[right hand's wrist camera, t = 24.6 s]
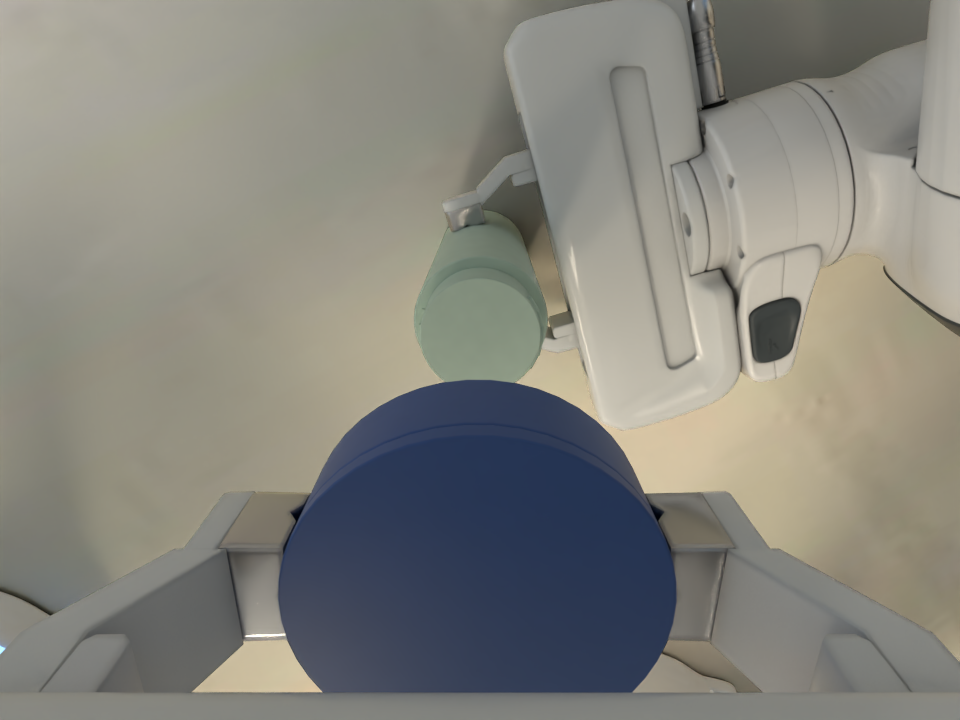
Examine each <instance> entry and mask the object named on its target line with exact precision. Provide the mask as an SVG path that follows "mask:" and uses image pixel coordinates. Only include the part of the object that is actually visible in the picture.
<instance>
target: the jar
mask: <svg viewBox="0 0 960 720" xmlns="http://www.w3.org/2000/svg"><path fill="white" fill-rule="evenodd" d="M483 212H484V215H485V223H482V224H478V225H474V226H470V225H466V226H465V228H463V229H461V230H459V231H455V232H451V231H450V228H448V229H447V231H446V233H445V235H444V237H443V239H442V242H441V244H440V247H439V249H438V251H437V254H436V256H435V259H434V261H433V263H432V266H431V268H430V270H429V273H428V275H427V278H426V280H425V282H424V285H423V287H422V290H421V292H420V294H419V297H418V299H417V303H416V306H415V313H414V327H415V333H416V337H417V340H418V343H419V345H420V347H421V349H422V352H423V355H424V357H425V359H426V361H427V363H428V365H429V366H430V368H431V369H432V370H433V371H434V373H435V374H436V375H438V376H439V377H440V378H441V379H442V380H444V381H445V382H452V381H460V380H496V381H503V382H511V383H515V382H516V381H518V380H519V379H520V378H521V377H523V376H524V375H525V374H526V372H527V371H528V370H529V369H531V368H532V367H533V365H534V363H535V361H536V359H537V358H538V356H539V355H540V352H541V348H542V345H543V342H544V339H545V336H546V331H547V323H548V317H547V308H546V304H545V301H544V298H543V295H542V292H541V289H540V286H539V284H538V281H537V278H536V275H535V272H534V269H533V267H532V264H531V261H530V258H529V255H528V253H527V250H526V247H525V244H524V241H523V238H522V236H521V234H520V232H519V230H518V229H517V227H516V226H515V225H514V224H513V222H512V221H510V220H509V219H508V218H506V217H505V216H503V215H501V214H499V213H497V212H493V211H488V210H483Z"/></svg>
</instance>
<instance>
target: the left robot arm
mask: <svg viewBox="0 0 960 720" xmlns="http://www.w3.org/2000/svg"><path fill="white" fill-rule="evenodd" d="M713 27H715V17H714V10H713V6H712V3H711V0H690V1H688V2H687V1H686V0H608V1H607V2H600V3H594V4H588V5H583V6H578V7H573V8H568V9H564V10H560V11H556V12H552V13H548V14H545V15H541V16H537V17H534V18H531V19H528V20H525V21H523V22H522V23H520V24H519V25H518V26H517V27H516V28H515V29H514V31H513V32H512V34H511V36H510V37H509V39H508V41H507V43H506V46H505V49H504V54H503V57H504V62H505V66H506V70H507V74H508V78H509V82H510V86H511V90H512V94H513V98H514V102H515V106H516V110H517V113H518V117H519V121H520V125H521V129H522V133H523V137H524V141H525V145H526V150H523V151H520V152H517V153H514V154H511V155H507V156H504V157H503V158H502V159H501V160H500V161H499V163H498V164H497V165H496V166H495V167H494V168H493V169H492V170H491V171H490V173H489V174H488V175H487V176H486V177H485V178H484V179H483V180H482V181H481V182H480V184H479V185H478V186H477V189H476V190H473V191H470V192H466V193H463V194H460V195H457V196H454V197H451V198H448V199H446V200H443V201H442V206H443V209H444V213H445V216H446V219H447V222H448V225H449V228H450V231H451V232H455V231H459V230H461V229H463V228H465V226H466V225H470V226H474V225H478V224H482V223H485V215H484V212H483V208H482V205H483V204H484V203H485V202H486V200H487V199H488V198H489V197H490V196H491V195H492V194H493V193H494V192H495V191H496V190H497V189H498V188H499V186H500V185H501V184H502V183H503V182H504V181H505V180H506V179H507V178H508V177H509V176H510V179H511V182H512V184H513V185H514V186H516V187H518V186H521V185H525V184H528V183H531V182H535V184H536V188H537V192H538V196H539V200H540V203H541V207H542V211H543V215H544V219H545V223H546V227H547V231H548V235H549V239H550V243H551V246H552V250H553V254H554V258H555V262H556V266H557V270H558V274H559V278H560V282H561V286H562V289H563V293H564V297H565V301H566V305H567V309H568V311H566V312H563V313H560V314H556V315H553V316H550V317H549V318H548V319H549V324H550V327H547V331H546V336H545V339H544V342H543V345H542V348H541V349H543V350H547V351H551V352H555V353H561V352H564V351H568V350H572V349H575V348H578V352H579V356H580V360H581V364H582V368H583V372H584V375H585V379H586V383H587V387H588V391H589V395H590V399H591V402H592V405H593V407H594V410H595V412H596V415H597V417H598V419H599V421H600V422H601V423H602V424H604V425H607V426H609V427H612V428H615V429H619V430H632V429H636V428H641V427H645V426H648V425H652V424H655V423H659V422H662V421H665V420H669V419H672V418H675V417H678V416H681V415H684V414H687V413H689V412H692V411H695V410H697V409H700V408H703V407H705V406H707V405H710V404H712V403H714V402H716V401H717V400H719V399H721V398H722V397H723V396H725V395H726V394H727V393H728V392H729V391H730V390H731V389H732V388H733V387H734V385H735V384H736V382H737V380H738V378H739V375H740V372H742V373H743V374H744V375H746V376H747V377H749V378H750V379H752V380H754V381H757V382H766V381H771V380H775V379H778V378H781V377H783V376H785V375H786V374H788V373H789V372H790V370H791V368H792V366H793V364H794V361H795V357H796V353H797V349H798V344H799V340H800V335H801V331H802V327H803V323H804V319H805V315H806V311H807V307H808V304H809V300H810V297H811V294H812V290H813V287H814V284H815V282H816V279H817V276H818V273H819V270H820V269H821V268H824V267H827V266H830V265H832V264H834V263H836V262H838V261H840V260H842V259H844V258H847V257H849V256H853V255H861V254H863V255H870V256H874V257H877V258H878V259H880V260H881V261H882V262H883V264H884V267H883V269H884V272H885V274H886V275H887V277H888V278H889V279H890V280H891V281H892V282H893V283H894V284H895V285H896V286H897V287H898V288H899V289H900V290H901V291H903V292H904V293H905V294H906V295H907V296H908V297H909V298H910V299H911V300H913V301H914V302H915V303H916V304H917V305H919V306H920V307H921V308H922V309H924V310H925V311H926V312H927V313H928V314H930V315H931V316H932V317H933V318H935V319H936V320H937V321H939V322H940V323H941V324H943V325H944V326H945V327H947V328H948V329H950V330H951V331H952V332H954V333H955V334H957V335H958V336H960V0H930V11H929V22H928V33H927V39H926V40H923V41H919V42H916V43H912V44H909V45H906V46H903V47H899V48H896V49H893V50H890V51H887V52H884V53H882V54H880V55H878V56H876V57H874V58H872V59H870V60H868V61H867V62H865V63H864V64H862V65H861V66H859V67H857V68H856V69H854V70H852V71H850V72H848V73H846V74H843V75H840V76H837V77H831V78H808V79H800V80H795V81H791V82H788V83H785V84H782V85H779V86H775V87H772V88H769V89H766V90H763V91H759V92H756V93H753V94H750V95H747V96H743V97H740V98H737V99H733V100H730V101H728V100H727V101H726V97H725V88H724V82H723V75H722V68H721V63H720V59H719V58H718V57H719V55H718V52H717V47H716V46H715V44H716V42H715V39H714V38H715V35H714V28H713ZM702 106H703V108H702ZM699 108H702V110H699V111H697V109H699ZM632 693H737V692H736V689H735V687H734V686H733V685H732V684H731V683H729V682H726V681H723V680H720V679H716V678H711V677H707V676H703V675H700V674H698V673H697V672H695V671H693V670H692V669H691V668H689V667H688V666H686V665H685V664H683V663H682V662H680V661H678V660H676V659H674V658H672V657H669V656H667V655H664V654H661V655H660V657H659V659H658V661H657V662H656V664H655V665H654V667H653V668H652V670H651V671H650V672H649V674H648V675H647V677H646V678H645V679H644V680H643V681H642V682H641V683H640V685H639V686H638V687H637V688H636V689H635V690H634V691H633V692H632Z"/></svg>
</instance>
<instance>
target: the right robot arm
mask: <svg viewBox="0 0 960 720" xmlns="http://www.w3.org/2000/svg"><path fill="white" fill-rule="evenodd" d="M310 494H311V493H296V492H254V491H249V492H228V493H225V494H223V495H222V497H221V498H220V500H219V501H218V502H217V504H216V505H215V506H214V508H213V509H212V510H211V512H210V513H209V515H208V516H207V517H206V519H205V520H204V521H203V523H202V524H201V526H200V527H199V528H198V530H197V531H196V532H195V534H194V535H193V536H192V538H191V539H190V541H189V542H188V543H187V545H186V546H185V547H184V549H173V550H172V551H170V552H168V553H166V554H164V555H162V556H160V557H159V558H157V559H155V560H153V561H151V562H149V563H147V564H146V565H144V566H142V567H140V568H138V569H136V570H134V571H133V572H131V573H129V574H127V575H125V576H123V577H121V578H120V579H118V580H116V581H114V582H112V583H110V584H108V585H107V586H105V587H103V588H101V589H99V590H97V591H96V592H94V593H92V594H90V595H88V596H86V597H84V598H83V599H81V600H79V601H77V602H75V603H73V604H71V605H70V606H68V607H66V608H64V609H62V610H60V611H58V612H57V613H55V614H53V615H51V616H50V615H48V614H47V613H45V612H43V611H42V610H40V609H38V608H37V607H35V606H33V605H32V604H30V603H28V602H26V601H24V600H22V599H19V598H17V597H15V596H12V595H9V594H7V593H4V592H0V720H960V662H959V661H958V660H957V659H956V658H955V657H954V656H953V655H952V654H951V652H950V651H949V650H948V649H947V648H946V647H945V646H944V645H943V644H942V643H941V642H940V640H939V639H938V638H937V637H936V636H935V635H934V634H933V633H932V632H930V631H929V630H927V629H925V628H923V627H921V626H919V625H918V624H916V623H914V622H912V621H910V620H908V619H907V618H905V617H903V616H901V615H899V614H897V613H896V612H894V611H892V610H890V609H888V608H886V607H885V606H883V605H881V604H879V603H877V602H875V601H874V600H872V599H870V598H868V597H866V596H864V595H863V594H861V593H859V592H857V591H855V590H853V589H852V588H850V587H848V586H846V585H844V584H843V583H841V582H839V581H837V580H835V579H833V578H832V577H830V576H828V575H826V574H824V573H822V572H821V571H819V570H817V569H815V568H813V567H811V566H810V565H808V564H806V563H804V562H802V561H800V560H799V559H797V558H795V557H793V556H791V555H789V554H788V553H786V552H784V551H782V550H780V549H770V548H769V546H768V545H767V544H766V542H765V541H764V540H763V538H762V537H761V535H760V534H759V533H758V531H757V530H756V528H755V527H754V526H753V524H752V523H751V522H750V520H749V519H748V517H747V516H746V515H745V513H744V512H743V510H742V509H741V508H740V506H739V505H738V504H737V502H736V501H735V499H734V498H733V497H732V495H731V494H730V493H728V492H726V491H715V492H697V493H650V494H645V496H646V498H647V500H648V502H649V505H650V507H651V509H652V511H653V513H654V516H655V518H656V520H657V522H658V524H659V527H660V529H661V531H662V533H663V535H664V537H665V539H666V542H667V545H668V548H669V551H670V553H671V556H672V559H673V564H674V570H675V575H676V581H677V603H676V609H675V615H674V621H673V625H672V629H671V632H670V635H669V638H668V640H684V641H711V645H712V646H714V647H715V648H716V649H717V650H718V651H719V652H720V653H721V654H722V655H723V656H724V657H725V658H726V659H727V660H729V661H730V662H731V663H732V664H733V665H734V666H735V667H736V668H737V669H738V670H739V671H740V672H741V673H743V674H744V675H745V676H746V677H747V678H748V679H749V680H750V681H751V682H752V683H753V684H754V685H755V686H756V687H758V688H759V689H760V690H761V691H762V692H763V693H417V692H280V693H191V692H192V691H193V690H194V689H195V688H196V687H197V686H198V685H200V684H201V683H202V682H203V681H204V680H205V679H206V678H207V677H208V676H209V675H210V674H212V673H213V672H214V671H215V670H216V669H217V668H218V667H219V666H220V665H221V664H222V663H223V662H225V661H226V660H227V659H228V658H229V657H230V656H231V655H232V654H233V653H234V652H235V651H237V650H238V649H239V648H240V647H241V646H242V645H243V641H270V640H287V637H286V634H285V631H284V628H283V625H282V622H281V616H280V609H279V602H278V580H279V573H280V568H281V563H282V558H283V555H284V552H285V549H286V547H287V544H288V541H289V539H290V536H291V534H292V532H293V530H294V528H295V526H296V524H297V522H298V519H299V517H300V515H301V513H302V511H303V509H304V507H305V505H306V503H307V501H308V499H309V496H310Z"/></svg>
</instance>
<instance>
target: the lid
mask: <svg viewBox="0 0 960 720" xmlns="http://www.w3.org/2000/svg"><path fill="white" fill-rule="evenodd" d="M278 602H279V609H280V616H281V622H282V625H283V628H284V631H285V634H286V637H287V641H288V643H289V645H290V647H291V649H292V651H293V653H294V655H295V657H296V659H297V660H298V662H299V663H300V665H301V666H302V668H303V669H304V671H305V672H306V673H307V675H308V676H309V677H310V678H311V680H312V681H313V682H314V683H315V684H316V685H317V686H318V687H319V688H320V690H321V691H322V692H417V693H632V692H633V691H634V690H635V689H636V688H637V687H638V686H639V685H640V683H641V682H642V681H643V680H644V679H645V678H646V677H647V675H648V674H649V672H650V671H651V670H652V668H653V667H654V665H655V664H656V662H657V661H658V659H659V657H660V655H661V653H662V651H663V649H664V647H665V645H666V643H667V641H668V638H669V635H670V632H671V629H672V625H673V621H674V615H675V609H676V603H677V581H676V575H675V570H674V564H673V559H672V556H671V553H670V551H669V548H668V545H667V542H666V539H665V537H664V535H663V533H662V531H661V529H660V527H659V524H658V522H657V520H656V518H655V516H654V513H653V511H652V509H651V507H650V505H649V502H648V500H647V498H646V496H645V494H644V492H643V489H642V487H641V485H640V483H639V481H638V479H637V476H636V474H635V472H634V470H633V468H632V466H631V464H630V463H629V461H628V459H627V457H626V455H625V453H624V452H623V450H622V449H621V448H620V446H619V445H618V444H617V443H616V441H615V440H614V439H613V437H612V436H611V435H610V434H609V433H608V432H607V431H606V430H605V429H604V428H603V427H602V426H601V425H600V424H599V423H598V422H597V421H596V420H594V419H593V418H591V417H590V416H589V415H587V414H586V413H585V412H583V411H582V410H581V409H579V408H578V407H576V406H574V405H572V404H570V403H569V402H567V401H565V400H563V399H561V398H559V397H557V396H555V395H552V394H549V393H547V392H544V391H542V390H539V389H536V388H532V387H529V386H525V385H521V384H517V383H511V382H503V381H496V380H460V381H452V382H443V383H439V384H435V385H431V386H427V387H422V388H419V389H416V390H414V391H411V392H408V393H406V394H403V395H400V396H398V397H396V398H394V399H392V400H391V401H389V402H387V403H385V404H383V405H381V406H379V407H378V408H376V409H375V410H374V411H372V412H371V413H369V414H368V415H367V416H365V417H364V418H362V419H361V420H360V421H359V422H358V423H357V424H356V425H355V426H354V427H353V428H352V429H351V430H350V431H348V432H347V433H346V434H345V436H344V437H343V438H342V439H341V441H340V442H339V443H338V445H337V446H336V447H335V448H334V450H333V451H332V453H331V455H330V457H329V458H328V460H327V462H326V464H325V465H324V467H323V469H322V471H321V473H320V476H319V478H318V480H317V482H316V484H315V486H314V488H313V490H312V492H311V494H310V496H309V499H308V501H307V503H306V505H305V507H304V509H303V511H302V513H301V515H300V517H299V519H298V522H297V524H296V526H295V528H294V530H293V532H292V534H291V536H290V539H289V541H288V544H287V547H286V549H285V552H284V555H283V558H282V563H281V568H280V573H279V580H278Z"/></svg>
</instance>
